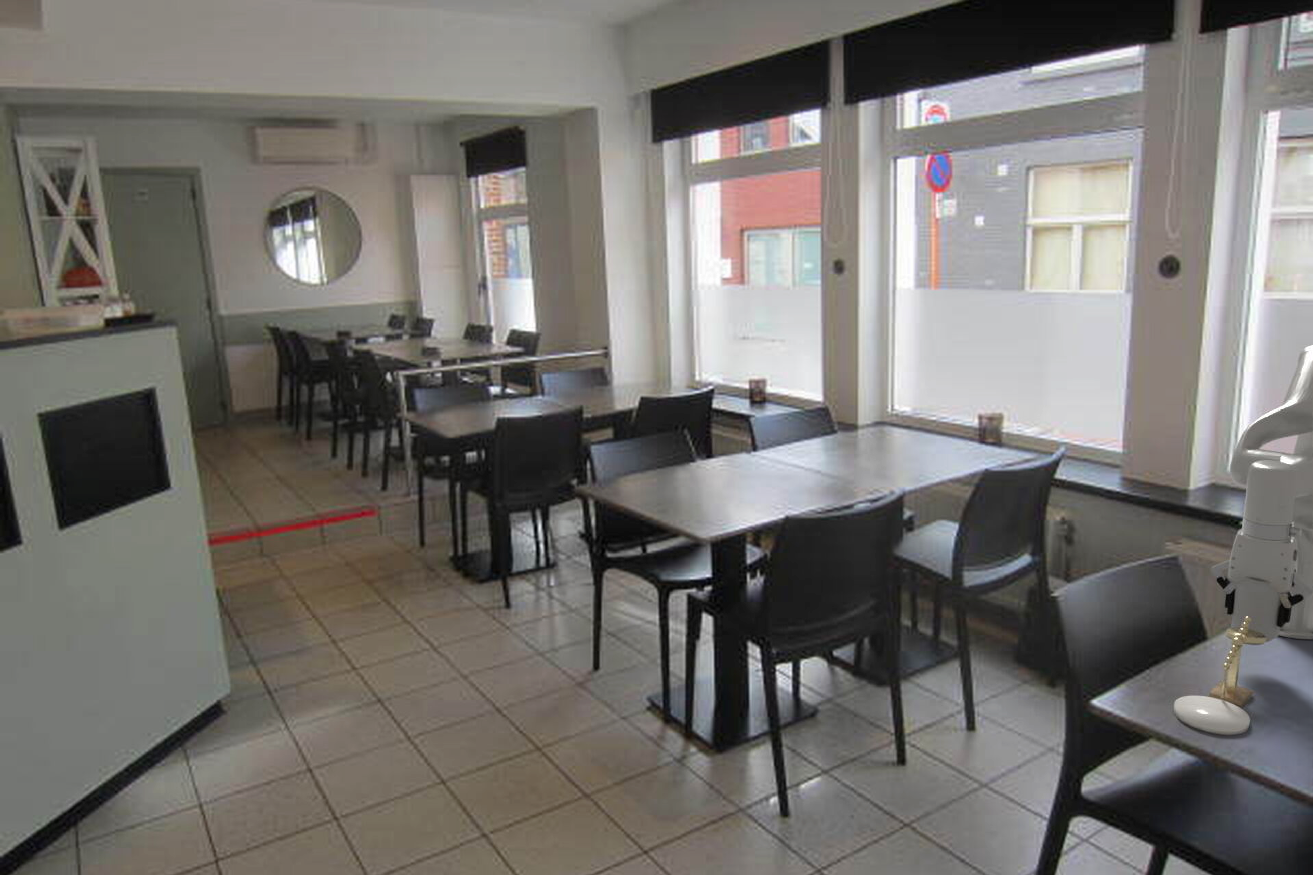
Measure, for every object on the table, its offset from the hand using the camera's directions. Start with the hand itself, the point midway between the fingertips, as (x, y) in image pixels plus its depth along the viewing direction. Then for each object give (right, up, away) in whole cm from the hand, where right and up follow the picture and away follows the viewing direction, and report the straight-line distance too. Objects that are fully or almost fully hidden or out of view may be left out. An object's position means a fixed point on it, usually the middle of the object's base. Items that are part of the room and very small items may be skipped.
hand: (1256, 617), depth 172 cm
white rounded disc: (-18, -14, -16) cm, 27 cm away
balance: (-9, -12, -8) cm, 17 cm away
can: (0, -4, +1) cm, 4 cm away
